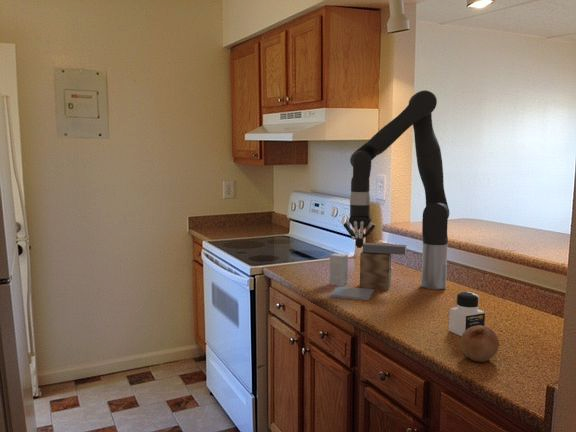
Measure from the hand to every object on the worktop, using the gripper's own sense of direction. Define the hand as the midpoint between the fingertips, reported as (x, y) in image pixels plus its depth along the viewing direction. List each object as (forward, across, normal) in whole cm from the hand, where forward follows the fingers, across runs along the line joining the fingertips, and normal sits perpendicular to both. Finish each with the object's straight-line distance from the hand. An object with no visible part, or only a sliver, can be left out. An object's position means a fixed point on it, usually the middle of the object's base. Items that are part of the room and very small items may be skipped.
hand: (359, 247), depth 206 cm
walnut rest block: (+15, -6, 0) cm, 17 cm away
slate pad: (+15, 0, +12) cm, 19 cm away
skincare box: (+16, +8, 0) cm, 17 cm away
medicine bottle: (+16, -40, +42) cm, 60 cm away
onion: (+16, -43, +61) cm, 76 cm away
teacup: (+16, -7, -14) cm, 22 cm away
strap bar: (+1, -10, 0) cm, 10 cm away
